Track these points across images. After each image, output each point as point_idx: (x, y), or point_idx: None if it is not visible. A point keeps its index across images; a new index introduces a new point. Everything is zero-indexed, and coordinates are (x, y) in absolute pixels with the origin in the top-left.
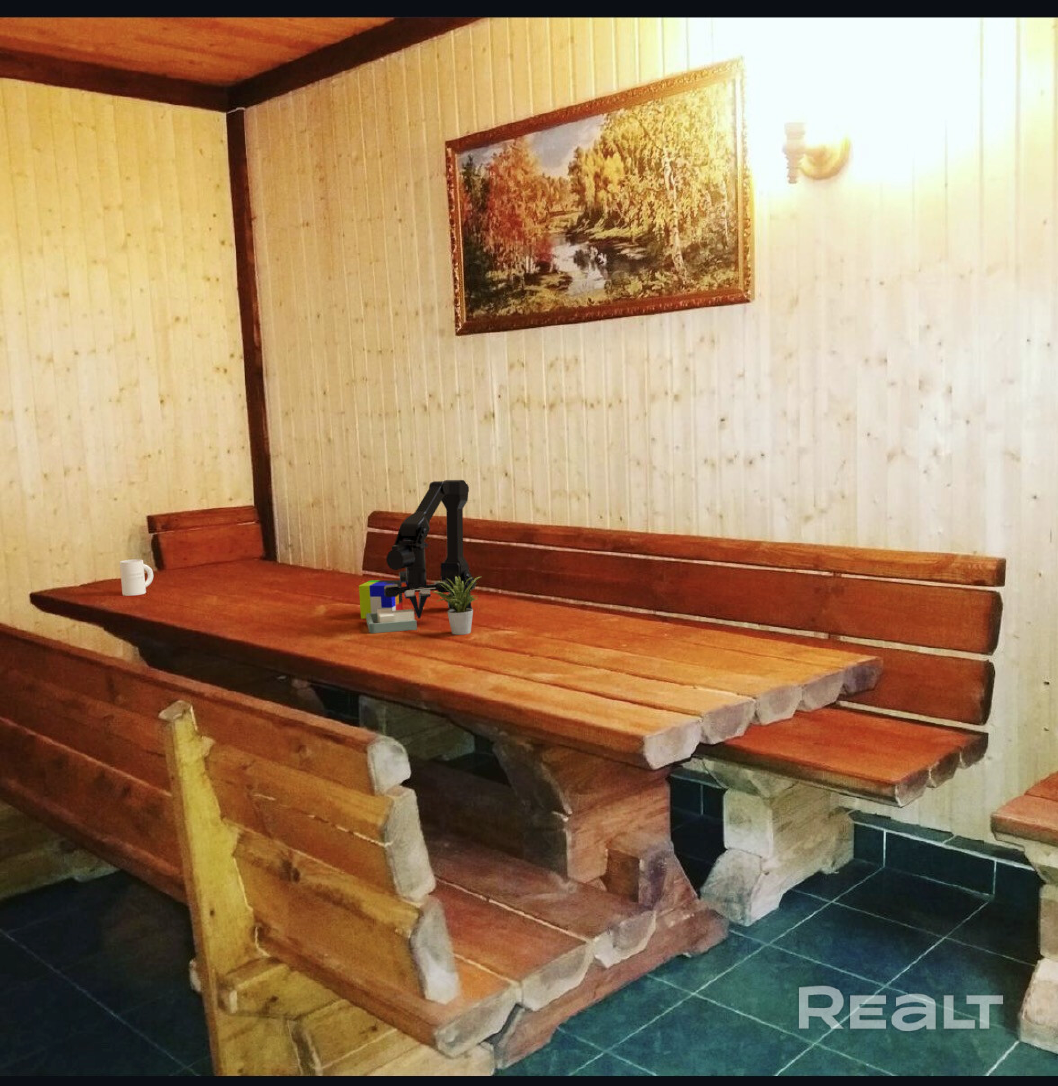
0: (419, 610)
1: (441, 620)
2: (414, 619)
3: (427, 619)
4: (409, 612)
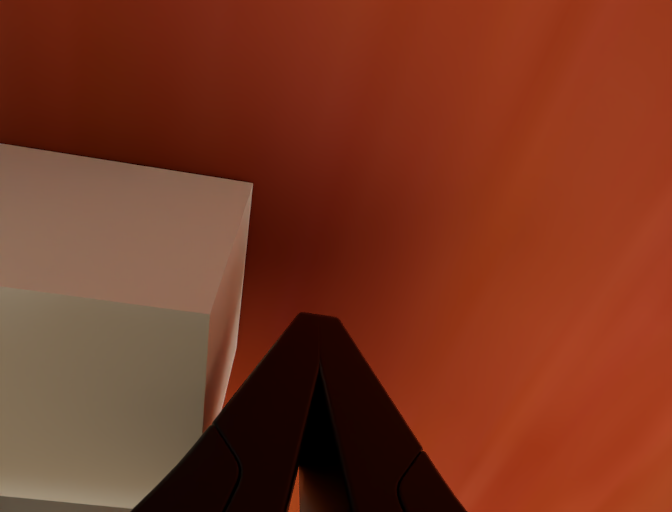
0: (303, 509)
1: (664, 247)
2: (223, 402)
3: (551, 38)
4: (115, 497)
